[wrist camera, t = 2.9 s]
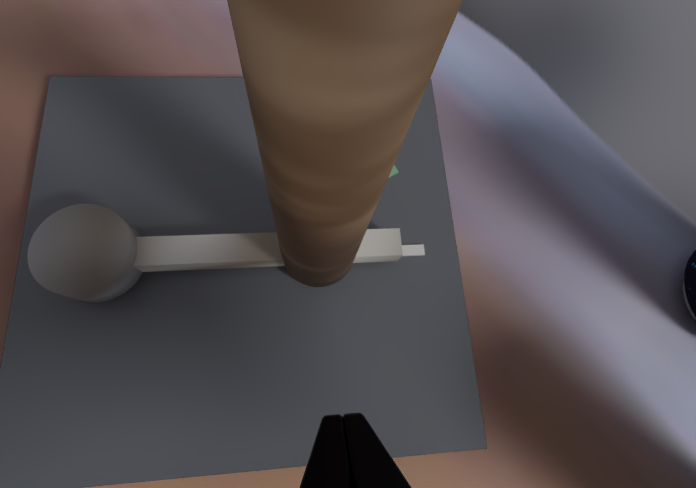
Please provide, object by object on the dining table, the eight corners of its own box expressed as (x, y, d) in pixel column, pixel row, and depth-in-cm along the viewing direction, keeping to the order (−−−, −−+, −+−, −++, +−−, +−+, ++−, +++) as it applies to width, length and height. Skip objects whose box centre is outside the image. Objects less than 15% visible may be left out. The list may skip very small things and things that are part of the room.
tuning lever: (48, 305, 16) (-1658, -145, 2) (60, 220, 17) (-1029, -459, 3) (400, 287, 18) (756, -39, 4) (392, 210, 19) (647, -272, 5)
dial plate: (477, 444, 18) (488, 448, 17) (-3, 490, 16) (-25, 498, 15) (425, 91, 23) (431, 77, 22) (61, 89, 21) (48, 74, 20)
